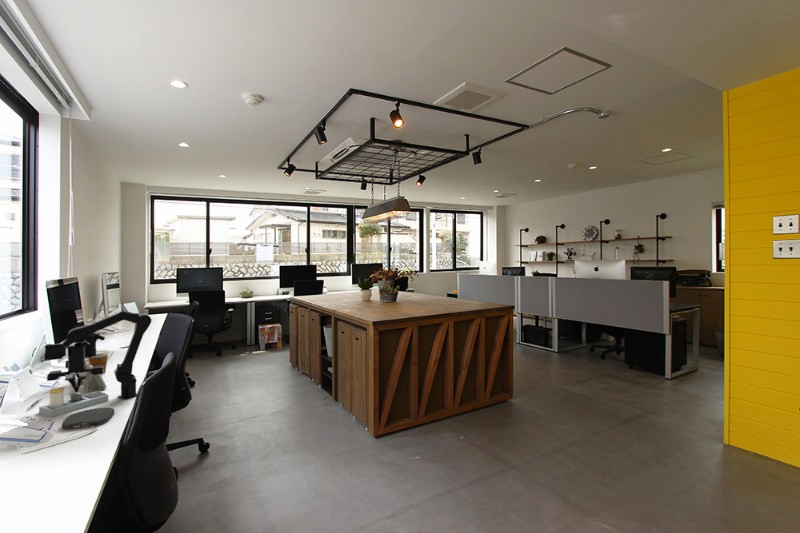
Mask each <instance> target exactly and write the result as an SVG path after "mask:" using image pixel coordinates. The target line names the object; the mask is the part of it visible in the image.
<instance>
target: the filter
mask: <svg viewBox="0 0 800 533" xmlns="http://www.w3.org/2000/svg"><path fill="white" fill-rule="evenodd" d="M77 327H79V326H77V325H74V326H73V328H77ZM85 340H86V341H87V342H88V343H90V346H85V360H86V359H88V360H86V362H87V363H86V366H88V365H91V357H93V356H96V351H97V341H98V340H100V341H105V340H106V337H105V336H102V335H100V333H96V332H94V333H93V334H91V335H90V336H88V337H87V338H85V339H84V340H82V341H80V342H77V343H81V342H84V341H85ZM89 357H90V360H89ZM89 362H90V363H89ZM92 366H96V365H92ZM78 373H79V372H78ZM87 376H88V375H87ZM78 377H79V375H75V378H76V379H78ZM84 379H85V378H84ZM84 379H83V380H82V381H84Z"/></svg>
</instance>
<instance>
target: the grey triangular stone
mask: <svg viewBox="0 0 800 533" xmlns="http://www.w3.org/2000/svg"><path fill="white" fill-rule="evenodd" d="M92 367H93V366H92V365H88V366H87V365H86V369H92ZM83 388H84V389H85V390H86V391H87V392H89V393H90V392H95V391H97V390H101V391H104V390H106V389H107V385H106V382H105V381H104V379H103V377H102V374H97V375H93V374H92V373H88V376H87V378H85V379H84V380H83Z"/></svg>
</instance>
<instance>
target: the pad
mask: <svg viewBox="0 0 800 533" xmlns="http://www.w3.org/2000/svg"><path fill="white" fill-rule="evenodd" d="M93 392H94V393H92V392H89V393H90V394H89V393H85V394H86V395H85V394H82V395H83V396H85V397H88V398H91V399H92V398H95V397H99V396H102V395H106V394H107V393H105V392H102V391H100V390H99V391H97V390H96V391H93Z"/></svg>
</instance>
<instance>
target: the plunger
mask: <svg viewBox="0 0 800 533" xmlns="http://www.w3.org/2000/svg"><path fill="white" fill-rule="evenodd" d="M82 395H83V391H78V392H75V391H74V392H73V393H70V398H71V402H78V401H81V400H82Z"/></svg>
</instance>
